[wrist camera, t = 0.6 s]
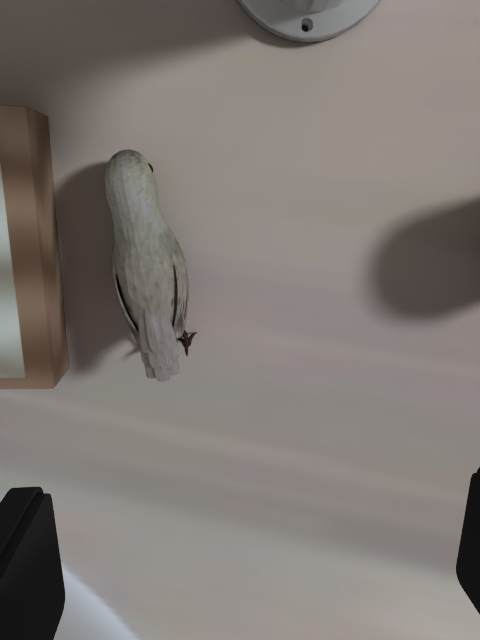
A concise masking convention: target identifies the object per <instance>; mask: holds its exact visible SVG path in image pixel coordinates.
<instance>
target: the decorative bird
mask: <svg viewBox="0 0 480 640" xmlns="http://www.w3.org/2000/svg"><path fill="white" fill-rule="evenodd" d="M105 193H106V198H107V201H108V204H109V207H110V210H111V214H112V219H113V225H114V236H115V242H114V248H113V255H112V276H113V281H114V286H115V289H116V293H117V296H118V300H119V303H120V306H121V309H122V312H123V314H124V316H125V319H126V321H127V323H128V325H129V327H130V329H131V331H132V333H133V335H134V337H135V340H136V342H137V343H138V344H139V345H140V350H141V357H142V362H143V363H144V364H145V371H146V375H147V377H148V378H157V380H158V381H166V380H169V379H170V375H175V374H177V373H178V372H179V364H178V360H177V358H178V357H179V349H178V345H177V341H176V339H178V340H179V341H180V342H181V343H182V345H183V346H184V347H185V352H186V355H187V356H188V347H189V346H190V345H191V341H192V338H193V336H194V335H195V334H196V333H197V332H195V333H193V334H191V335H190V336H189V338H188V334H187V332H185V325H186V316H187V307H188V298H189V283H188V275H187V268H186V263H185V259H184V256H183V252H182V249H181V247H180V245H179V244H178V242H177V240H176V238H175V236H174V234H173V232H172V230H171V229H170V227H169V225H168V223H167V221H166V220H165V218H164V216H163V214H162V213H161V210H160V207H159V203H158V197H157V186H156V181H155V178H154V175H153V168H152V166H151V165H150V164H149V163H148V162H147V161H146V159H145V158H144V157H143V156H142V155H141V154H140V153H138V152H136V151H133V150H123V151H120V152H118V153H116V154H115V155H113V156H112V158H111V159H110V161H109V162H108V164H107V167H106V171H105ZM182 334H183V337H184V339H183V338H181V336H182Z"/></svg>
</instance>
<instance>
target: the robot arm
mask: <svg viewBox="0 0 480 640" xmlns="http://www.w3.org/2000/svg"><path fill="white" fill-rule="evenodd" d="M380 1H381V0H238V2H239V3H240V4H241V6H242V7H243V9H244V10H245V11H246V13H247V14H248V15H249V16H250V17H251V18H253V19H254V20H255V21H256V22H257V23H258V24H259V25H260V26H262V27H263V28H265V29H266V30H268V31H270V32H271V33H273V34H275V35H277V36H280V37H283V38H286V39H288V40H292V41H300V42H316V41H324V40H327V39H330V38H334V37H337V36H340V35H341V34H343V33H345V32H347V31H348V30H350V29H352V28H354V27H355V26H356V25H357V24H358V23H360V22H361V21H362V20H363V19H364V18H365V17H367V16H368V15H369V14H370V12H371V11H372V10H373V9H374V8H375V7H376V6H377V5H378V4H379V2H380ZM302 26H306V27H307V30H308V31H307V32H304V31H303V30H302V28H301V27H302ZM456 573H457V577H458V580H459V583H460V585H461V586H462V588H463V590H464V591H465V593H466V594H467V596H468V597H469V599H470V600H471V602H472V603H473V605H474V606H475V608H476V609H477V611H478V612H479V614H480V467H479V469H478V471H477V473H474V474H473V475H472V477H471V481H470V487H469V493H468V499H467V505H466V511H465V517H464V523H463V529H462V535H461V540H460V546H459V552H458V558H457V564H456ZM64 603H65V589H64V581H63V574H62V567H61V560H60V553H59V546H58V539H57V532H56V525H55V518H54V511H53V504H52V498H51V495H50V494H44V493H43V490H42V488H41V487H22V488H12V489H10V490H9V491H8V492H7V494H6V495H5V497H4V498H3V500H2V501H1V503H0V640H53V639H54V636H55V633H56V630H57V627H58V624H59V622H60V619H61V616H62V613H63V609H64Z"/></svg>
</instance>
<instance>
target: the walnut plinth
mask: <svg viewBox="0 0 480 640" xmlns="http://www.w3.org/2000/svg"><path fill="white" fill-rule="evenodd" d="M68 369H69V361H68V350H67V338H66V326H65V314H64V303H63V291H62V279H61V268H60V256H59V244H58V232H57V221H56V209H55V197H54V186H53V174H52V162H51V151H50V139H49V127H48V116H46V115H43V114H41V113H39V112H37V111H34V110H32V109H30V108H27V107H20V106H1V105H0V389H54V387H55V386H56V385H57V383H58V382H59V381H60V379H61V378H62V377H63V376H64V374H65V373H66V372H67V370H68Z"/></svg>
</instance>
